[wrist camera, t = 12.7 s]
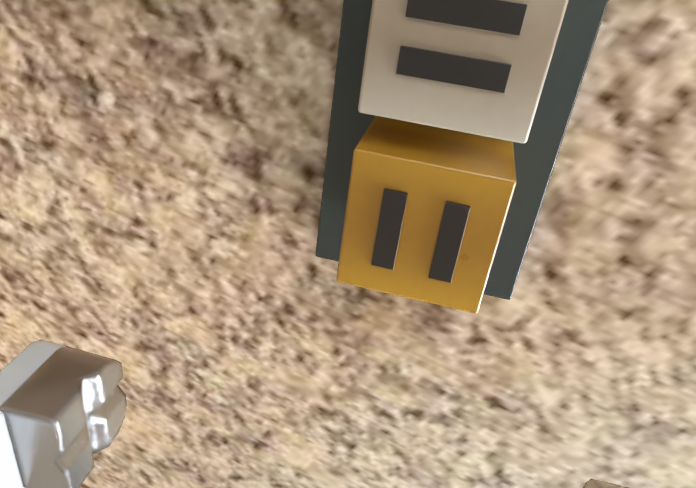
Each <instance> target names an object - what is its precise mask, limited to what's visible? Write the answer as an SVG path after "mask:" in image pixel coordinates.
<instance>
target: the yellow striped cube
mask: <svg viewBox="0 0 696 488" xmlns="http://www.w3.org/2000/svg"><path fill="white" fill-rule="evenodd" d="M515 186H516V171H515V158H514V146H513V142H512V141H507V140H501V139H496V138H491V137H486V136H480V135H475V134H470V133H465V132H459V131H454V130H449V129H444V128H438V127H433V126H428V125H423V124H417V123H412V122H407V121H402V120H396V119H391V118H386V117H381V116H375V118H374V119H373V121H372V123H371V124H370V126H369V127H368V129H367V130H366V132H365V134H364V135H363V137H362V138H361V140H360V142H359V143H358V145H357V146H356V148H355V149H354V153H353V161H352V168H351V175H350V183H349V190H348V197H347V205H346V212H345V220H344V227H343V234H342V242H341V249H340V256H339V264H338V271H337V281H338V282H342V283H346V284H350V285H355V286H359V287H363V288H368V289H372V290H376V291H380V292H385V293H389V294H393V295H398V296H402V297H406V298H411V299H415V300H419V301H424V302H428V303H432V304H437V305H441V306H445V307H450V308H454V309H458V310H463V311H467V312H471V313H477V312H478V311H479V308H480V304H481V301H482V297H483V294H484V291H485V287H486V284H487V281H488V277H489V274H490V270H491V267H492V264H493V260H494V257H495V254H496V250H497V247H498V244H499V240H500V237H501V233H502V230H503V227H504V223H505V220H506V217H507V213H508V210H509V206H510V203H511V200H512V196H513V193H514V190H515Z"/></svg>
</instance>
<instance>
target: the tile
mask: <svg viewBox="0 0 696 488" xmlns="http://www.w3.org/2000/svg"><path fill="white" fill-rule="evenodd" d="M568 1H569V0H372V8H371V15H370V23H369V30H368V38H367V45H366V53H365V60H364V68H363V75H362V82H361V90H360V97H359V105H358V111H359V112H360V113H365V114H370V115H375V116H381V117H386V118H391V119H396V120H402V121H407V122H412V123H417V124H423V125H428V126H433V127H438V128H444V129H449V130H454V131H459V132H465V133H470V134H475V135H480V136H486V137H491V138H496V139H501V140H507V141H512V142H517V143H522V144H523V143H526V142H527V140H528V137H529V133H530V130H531V126H532V123H533V120H534V116H535V113H536V109H537V106H538V103H539V99H540V96H541V92H542V89H543V86H544V82H545V79H546V75H547V72H548V69H549V65H550V62H551V59H552V55H553V52H554V48H555V45H556V42H557V38H558V35H559V31H560V28H561V25H562V21H563V18H564V14H565V11H566V8H567V4H568Z"/></svg>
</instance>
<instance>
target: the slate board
mask: <svg viewBox="0 0 696 488" xmlns="http://www.w3.org/2000/svg"><path fill="white" fill-rule="evenodd" d="M607 3H608V0H569V1H568V4H567V8H566V11H565V14H564V18H563V21H562V25H561V28H560V31H559V35H558V38H557V42H556V45H555V48H554V52H553V55H552V59H551V62H550V65H549V69H548V72H547V75H546V79H545V82H544V86H543V89H542V92H541V96H540V99H539V103H538V106H537V109H536V113H535V116H534V120H533V123H532V126H531V130H530V133H529V137H528V140H527V142H526V143H523V144H522V143H517V142H513V146H514V158H515V171H516V186H515V190H514V193H513V196H512V200H511V203H510V206H509V210H508V213H507V217H506V220H505V223H504V227H503V230H502V233H501V237H500V240H499V244H498V247H497V250H496V254H495V257H494V260H493V264H492V267H491V270H490V274H489V277H488V281H487V284H486V287H485V291H484V294H486V295H490V296H495V297H499V298H503V299H508V300H510V299H511V296H512V293H513V290H514V287H515V284H516V281H517V278H518V275H519V272H520V269H521V266H522V262H523V259H524V256H525V253H526V250H527V247H528V244H529V241H530V238H531V235H532V232H533V229H534V226H535V223H536V220H537V217H538V214H539V211H540V208H541V204H542V201H543V198H544V195H545V192H546V189H547V186H548V183H549V180H550V177H551V174H552V171H553V168H554V165H555V162H556V159H557V156H558V153H559V149H560V146H561V143H562V140H563V137H564V134H565V131H566V128H567V125H568V122H569V119H570V116H571V113H572V110H573V107H574V104H575V101H576V98H577V95H578V91H579V88H580V85H581V82H582V79H583V76H584V73H585V70H586V67H587V64H588V61H589V58H590V55H591V52H592V49H593V46H594V43H595V40H596V36H597V33H598V30H599V27H600V24H601V21H602V18H603V15H604V12H605V9H606V6H607ZM371 8H372V0H344V2H343V11H342V21H341V30H340V39H339V48H338V57H337V66H336V75H335V84H334V93H333V102H332V111H331V120H330V129H329V138H328V147H327V156H326V165H325V175H324V184H323V193H322V202H321V211H320V220H319V229H318V238H317V247H316V256H318V257H322V258H327V259H331V260H335V261H339V256H340V249H341V242H342V234H343V227H344V220H345V212H346V205H347V197H348V190H349V183H350V175H351V168H352V161H353V153H354V149H355V148H356V146H357V145H358V143H359V142H360V140H361V138H362V137H363V135H364V134H365V132H366V130H367V129H368V127H369V126H370V124H371V123H372V121H373V119H374V118H375V115H370V114H365V113H360V112H359V111H358V105H359V97H360V90H361V82H362V75H363V68H364V60H365V53H366V45H367V38H368V30H369V23H370V15H371Z"/></svg>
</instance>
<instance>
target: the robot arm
mask: <svg viewBox="0 0 696 488" xmlns="http://www.w3.org/2000/svg"><path fill="white" fill-rule="evenodd" d="M123 377H124V376H123V370H122V364H121V362H119V361H117V360H114V359H110V358H107V357H103V356H100V355H96V354H92V353H89V352H85V351H82V350H78V349H75V348H71V347H68V346H63V345H59V344H55V343H52V342H48V341H44V340H39V341H36V342H33V343H31V344H30V345H29V346H27V347H26V348H25V349H24V350H23V351H22V352H21V353H20V354H19V355H18V356H17V357H15V358H14V359H13V360H12V361H11V362H10V363H9V364H8V365H7V366H6V367H4V368H3V369H2V370H1V371H0V488H23V487H25V488H79V487H80V485H81V484H82V483H83V481H84V480H85V479H86V477H87V476H88V474H89V473H90V472H91V470H92V469H93V468H94V457H93V454H95V453H97V452H99V451H101V450H103V449H105V448H107V447H109V445H110V444H111V443H112V441H113V440H114V438H115V437H116V435H117V434H118V432H119V430H120V427H121V425H122V423H123V420H124V418H125V412H126V405H127V404H126V395H125V393H124V392H123V391H122V390H121V388H120V387H119V386H118V383H119V382H120V380H121V379H122V378H123ZM583 488H628V487H624V486H620V485H616V484H612V483H607V482H603V481H599V480H595V479H590V480H589V481H587V482H586V483H585V485H584V487H583Z"/></svg>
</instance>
